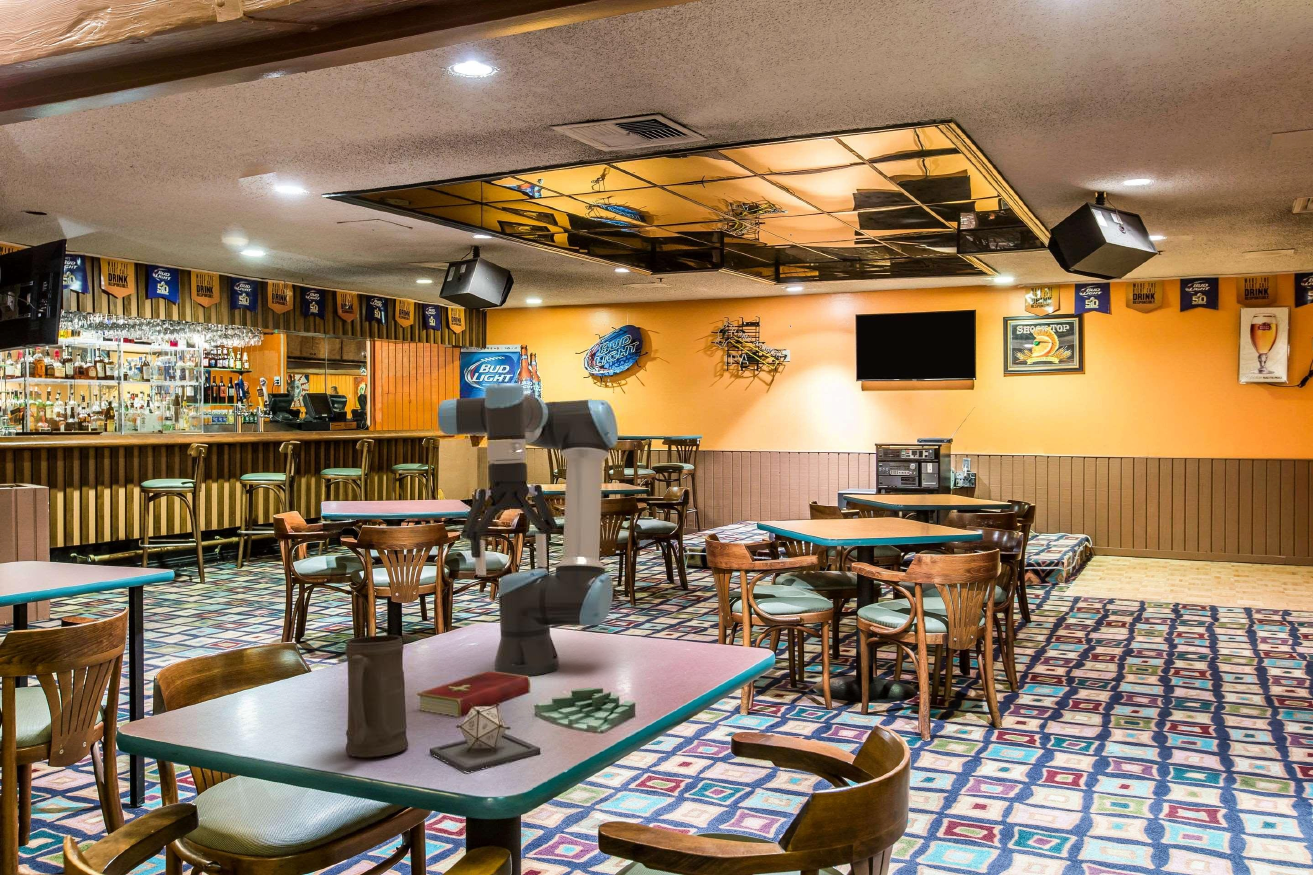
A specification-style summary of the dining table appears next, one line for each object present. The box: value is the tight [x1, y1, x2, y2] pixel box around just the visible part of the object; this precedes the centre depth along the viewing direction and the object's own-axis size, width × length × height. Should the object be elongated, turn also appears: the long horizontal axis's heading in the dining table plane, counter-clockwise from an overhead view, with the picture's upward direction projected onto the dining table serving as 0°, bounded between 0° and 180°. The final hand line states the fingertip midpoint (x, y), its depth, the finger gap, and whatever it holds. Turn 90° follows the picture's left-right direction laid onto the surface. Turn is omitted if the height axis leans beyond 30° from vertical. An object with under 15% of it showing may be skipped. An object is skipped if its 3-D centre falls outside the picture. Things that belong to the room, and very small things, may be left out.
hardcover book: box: [416, 670, 531, 718], centre depth 209 cm, size 12×21×4 cm, turn 146°
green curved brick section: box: [533, 687, 636, 734], centre depth 194 cm, size 20×16×5 cm
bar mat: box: [429, 732, 541, 773], centre depth 173 cm, size 14×14×1 cm
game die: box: [454, 702, 512, 753], centre depth 173 cm, size 9×8×10 cm
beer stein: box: [344, 634, 409, 758], centre depth 175 cm, size 15×11×20 cm
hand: (512, 570), depth 195 cm, fingers open, 13 cm apart
